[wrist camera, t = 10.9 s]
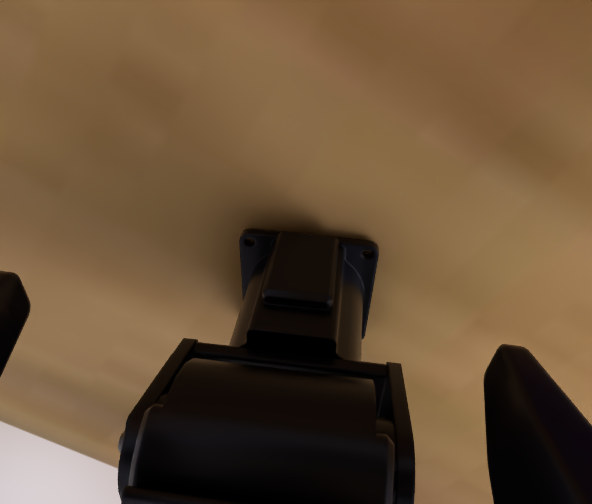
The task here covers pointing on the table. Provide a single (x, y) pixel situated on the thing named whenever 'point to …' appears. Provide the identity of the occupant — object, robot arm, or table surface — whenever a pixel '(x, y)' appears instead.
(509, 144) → the table surface
